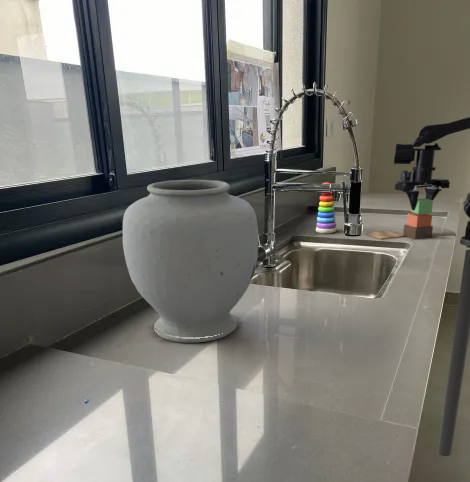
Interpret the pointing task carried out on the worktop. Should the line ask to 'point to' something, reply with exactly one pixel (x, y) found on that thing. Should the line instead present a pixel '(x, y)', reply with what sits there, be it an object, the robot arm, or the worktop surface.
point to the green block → (423, 206)
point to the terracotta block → (419, 220)
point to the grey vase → (191, 255)
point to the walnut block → (418, 232)
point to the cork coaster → (385, 234)
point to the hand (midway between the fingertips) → (419, 209)
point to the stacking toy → (326, 214)
